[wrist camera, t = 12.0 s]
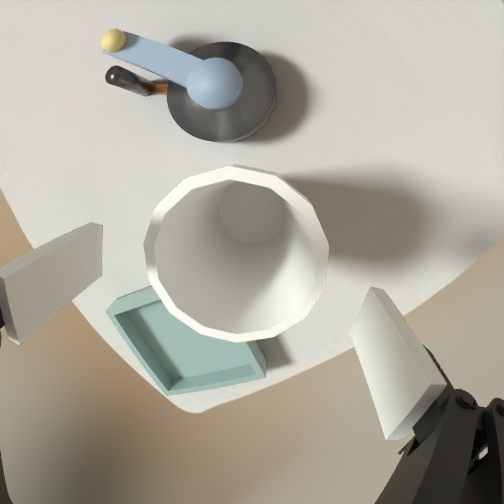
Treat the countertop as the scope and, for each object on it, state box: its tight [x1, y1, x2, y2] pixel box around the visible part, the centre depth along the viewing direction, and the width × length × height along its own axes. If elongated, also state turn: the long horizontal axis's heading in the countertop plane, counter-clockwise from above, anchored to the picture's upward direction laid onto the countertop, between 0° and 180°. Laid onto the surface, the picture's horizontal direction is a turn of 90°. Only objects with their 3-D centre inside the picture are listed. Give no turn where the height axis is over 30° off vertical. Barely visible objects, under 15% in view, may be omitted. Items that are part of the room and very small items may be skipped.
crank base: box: [105, 42, 276, 143], centre depth 20 cm, size 12×10×6 cm
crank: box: [100, 29, 244, 111], centre depth 17 cm, size 13×4×3 cm, turn 58°
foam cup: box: [144, 164, 329, 343], centre depth 20 cm, size 10×9×13 cm
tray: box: [106, 285, 267, 396], centre depth 30 cm, size 14×14×3 cm
